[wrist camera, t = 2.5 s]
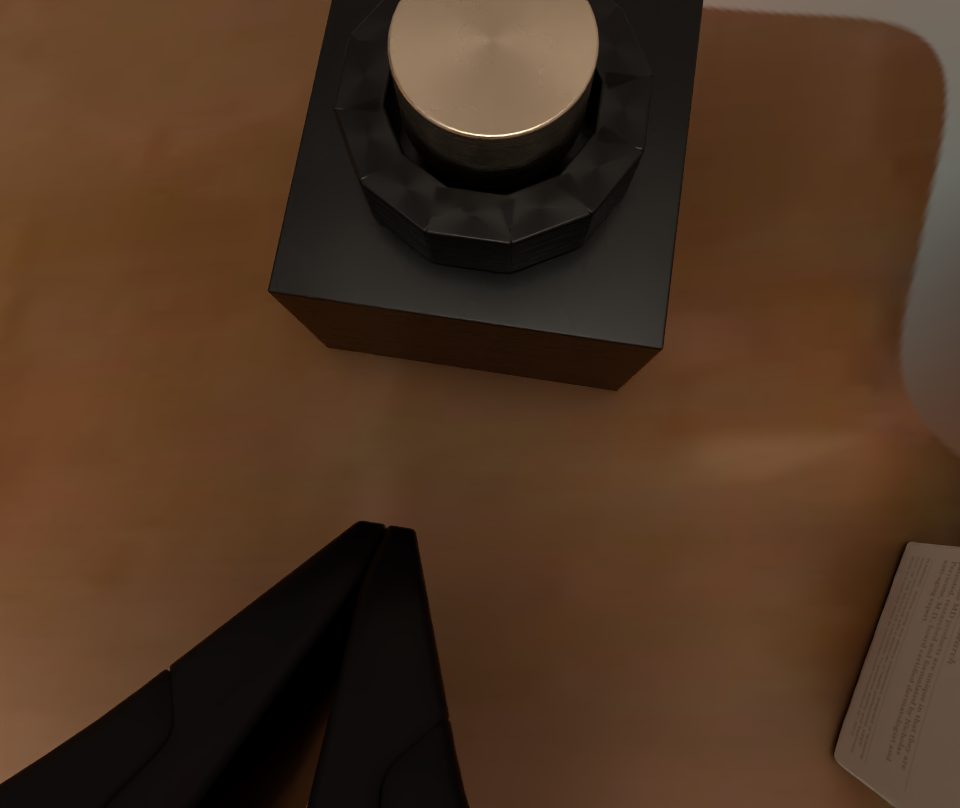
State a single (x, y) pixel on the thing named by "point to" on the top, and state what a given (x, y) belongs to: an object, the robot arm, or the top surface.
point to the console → (493, 214)
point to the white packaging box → (911, 688)
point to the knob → (493, 83)
